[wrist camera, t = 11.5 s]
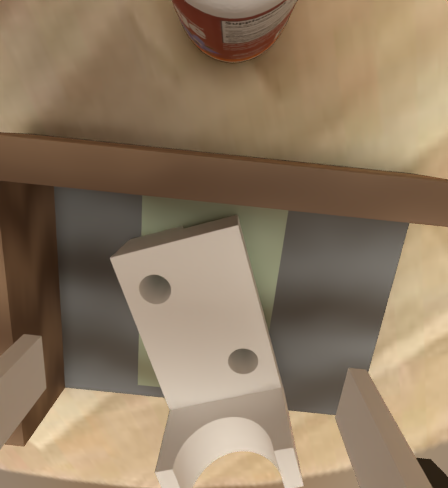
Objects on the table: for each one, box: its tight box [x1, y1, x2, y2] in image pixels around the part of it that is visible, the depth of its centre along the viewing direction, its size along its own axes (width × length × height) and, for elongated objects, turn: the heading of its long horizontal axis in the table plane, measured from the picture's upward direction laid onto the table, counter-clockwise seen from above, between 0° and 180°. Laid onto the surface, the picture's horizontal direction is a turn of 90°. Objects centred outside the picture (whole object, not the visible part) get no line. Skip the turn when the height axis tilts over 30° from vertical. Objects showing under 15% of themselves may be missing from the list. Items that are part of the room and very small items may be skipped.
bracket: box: [110, 215, 303, 488], centre depth 19 cm, size 13×7×8 cm, turn 15°
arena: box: [0, 132, 448, 446], centre depth 20 cm, size 18×24×6 cm
